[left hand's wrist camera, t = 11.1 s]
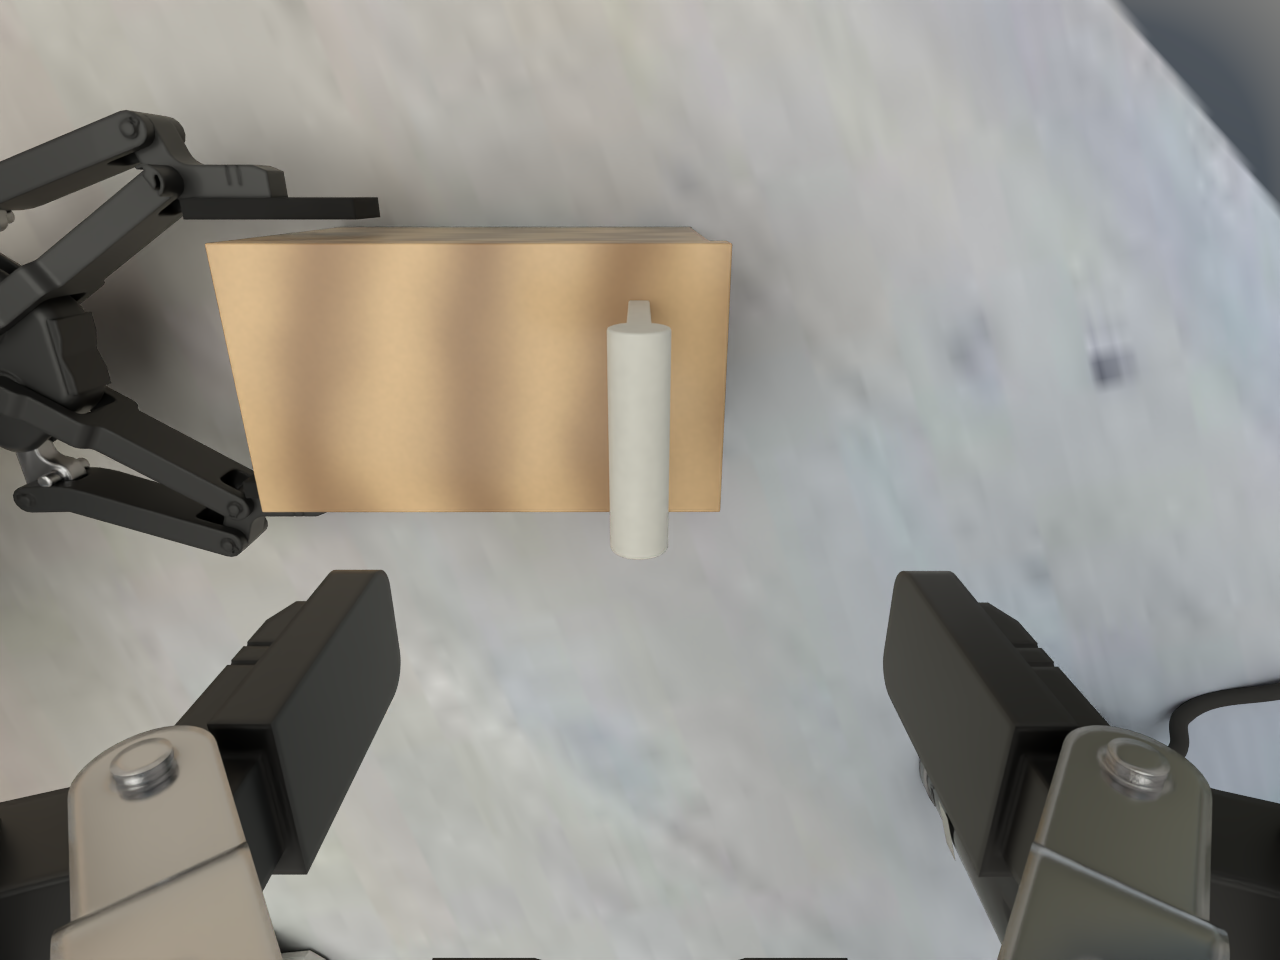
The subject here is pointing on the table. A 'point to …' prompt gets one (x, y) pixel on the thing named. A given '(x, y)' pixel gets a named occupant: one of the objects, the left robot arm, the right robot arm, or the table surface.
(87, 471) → the right robot arm
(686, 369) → the lid
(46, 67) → the table surface
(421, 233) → the chest
